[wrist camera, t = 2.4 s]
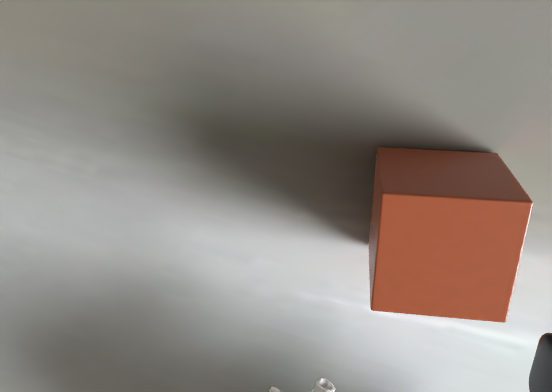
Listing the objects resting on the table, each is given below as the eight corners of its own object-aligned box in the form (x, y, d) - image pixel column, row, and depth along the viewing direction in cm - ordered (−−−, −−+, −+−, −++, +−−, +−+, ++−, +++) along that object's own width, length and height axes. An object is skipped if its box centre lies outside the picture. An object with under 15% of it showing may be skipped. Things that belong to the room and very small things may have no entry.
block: (497, 152, 17) (534, 202, 14) (478, 255, 19) (506, 323, 15) (377, 146, 18) (381, 192, 14) (368, 247, 19) (370, 311, 16)
